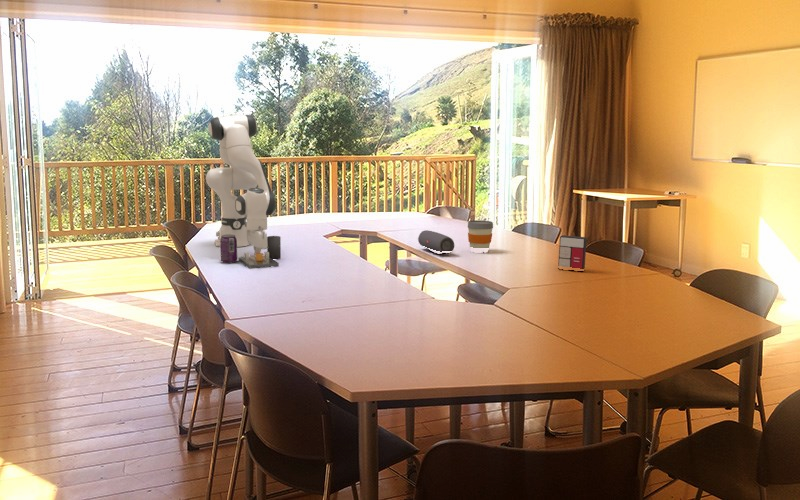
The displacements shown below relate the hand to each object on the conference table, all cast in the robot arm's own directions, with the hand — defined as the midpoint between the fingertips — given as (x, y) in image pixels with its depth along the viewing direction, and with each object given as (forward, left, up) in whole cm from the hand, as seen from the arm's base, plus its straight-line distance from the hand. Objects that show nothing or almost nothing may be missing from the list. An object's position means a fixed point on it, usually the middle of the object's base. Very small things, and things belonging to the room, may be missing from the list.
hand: (257, 256), depth 309 cm
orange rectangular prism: (+3, 0, -1) cm, 3 cm away
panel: (+1, 0, -3) cm, 3 cm away
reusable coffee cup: (+13, +109, -3) cm, 109 cm away
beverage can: (-7, -11, -3) cm, 13 cm away
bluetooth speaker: (+7, +87, -3) cm, 87 cm away
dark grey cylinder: (-8, +10, -3) cm, 13 cm away
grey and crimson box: (+67, +121, -3) cm, 138 cm away
